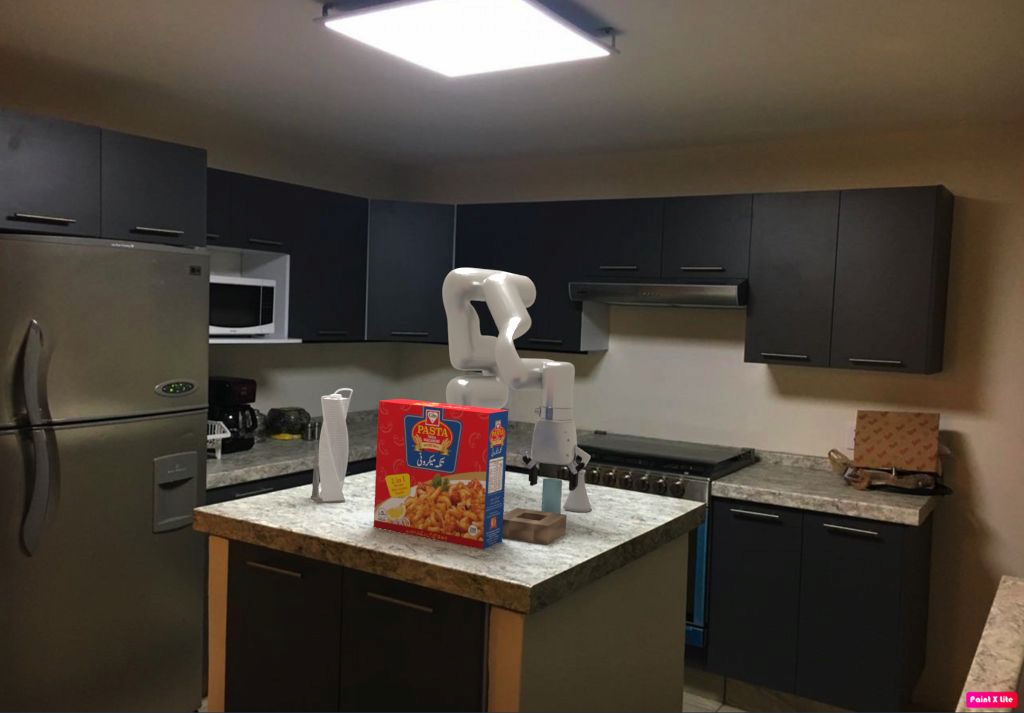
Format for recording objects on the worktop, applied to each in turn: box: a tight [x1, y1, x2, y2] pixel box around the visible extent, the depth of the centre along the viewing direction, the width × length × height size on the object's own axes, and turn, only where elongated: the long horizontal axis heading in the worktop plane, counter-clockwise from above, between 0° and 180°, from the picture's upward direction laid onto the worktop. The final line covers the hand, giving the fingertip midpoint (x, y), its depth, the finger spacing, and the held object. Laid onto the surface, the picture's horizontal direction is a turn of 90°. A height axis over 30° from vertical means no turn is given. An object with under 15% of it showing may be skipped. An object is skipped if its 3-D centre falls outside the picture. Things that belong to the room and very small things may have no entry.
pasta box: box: [373, 398, 509, 550], centre depth 182 cm, size 28×8×28 cm, turn 61°
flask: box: [563, 469, 592, 513], centre depth 213 cm, size 7×7×10 cm
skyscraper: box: [310, 387, 354, 504], centre depth 210 cm, size 8×8×28 cm
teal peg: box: [541, 477, 563, 514], centre depth 198 cm, size 4×4×10 cm
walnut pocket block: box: [502, 507, 567, 545], centre depth 186 cm, size 12×12×4 cm
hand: (552, 487), depth 198 cm, fingers open, 9 cm apart
